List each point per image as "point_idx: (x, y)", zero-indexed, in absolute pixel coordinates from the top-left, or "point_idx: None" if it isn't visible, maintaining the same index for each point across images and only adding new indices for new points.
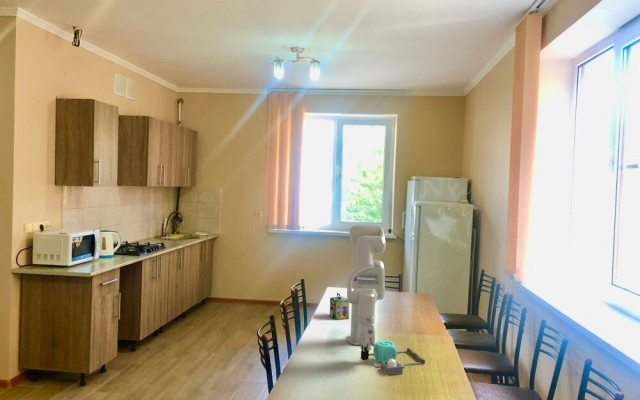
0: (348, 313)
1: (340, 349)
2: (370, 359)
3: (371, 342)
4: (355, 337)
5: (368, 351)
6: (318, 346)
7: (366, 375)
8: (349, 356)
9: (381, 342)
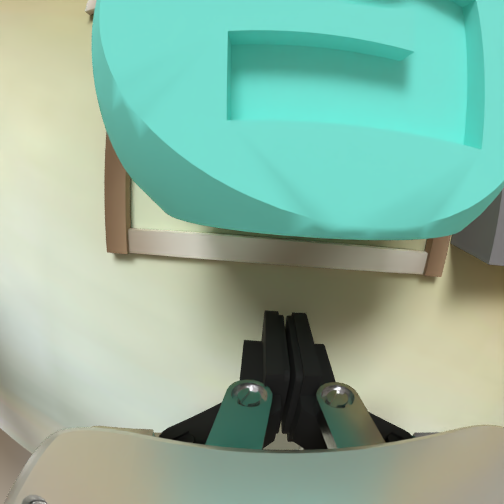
0: None
1: (23, 358)
2: (248, 248)
3: (441, 498)
4: None
5: (347, 394)
6: (18, 418)
7: (462, 381)
8: (129, 376)
9: (252, 19)
